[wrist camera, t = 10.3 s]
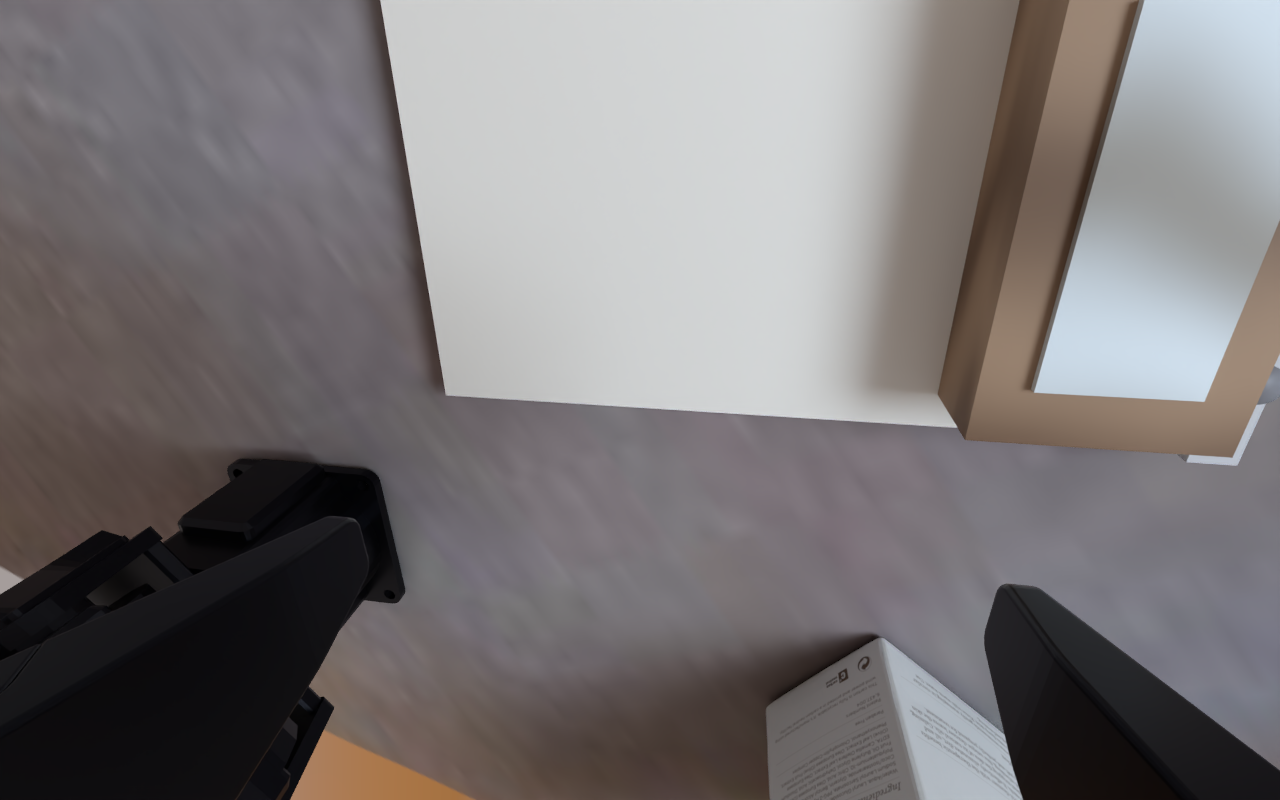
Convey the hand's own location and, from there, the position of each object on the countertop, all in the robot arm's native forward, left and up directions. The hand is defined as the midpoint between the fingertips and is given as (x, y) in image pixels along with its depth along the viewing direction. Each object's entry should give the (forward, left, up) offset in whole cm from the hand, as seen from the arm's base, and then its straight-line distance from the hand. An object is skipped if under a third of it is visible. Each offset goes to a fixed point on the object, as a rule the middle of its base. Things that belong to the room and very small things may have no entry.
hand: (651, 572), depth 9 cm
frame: (+4, -10, -11) cm, 15 cm away
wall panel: (+4, -3, -12) cm, 13 cm away
